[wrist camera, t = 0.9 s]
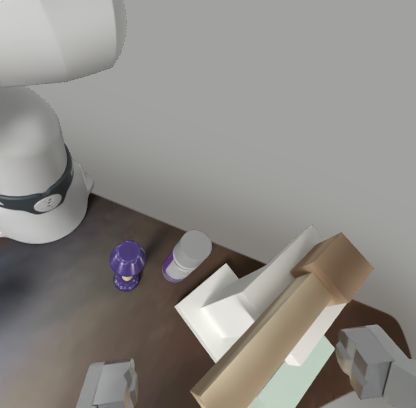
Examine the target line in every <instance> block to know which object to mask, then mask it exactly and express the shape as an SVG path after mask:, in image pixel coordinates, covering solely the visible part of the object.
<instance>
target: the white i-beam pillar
mask: <svg viewBox="0 0 416 408" xmlns="http://www.w3.org/2000/svg"><path fill="white" fill-rule="evenodd" d="M323 241H325V239H324V238H323V237H322V236H321V235H320V233H319V232H318V231H317V230H316V229H315V228H314V227H313V225H311V226H310V227H308V228H306V229H305V230H303V231H301V232H300V233H299V234H298V235H297V236H296V237H295V238H294V239H293V240H292V241H291V242H290V243H289V244H288V245H287V246H286V247H284V248H283V249H282V250H281V251H280V252H279V253H278V254H277V255H276V256H275V257H274V258H273V259H272V260H271V261H270V262H269V263H268V264H266V265H265V266H264V267H262V268H260V269H258V270H256V271H254V272H252V273H250V274H248V275H246V276H244V277H242V278H240V279H238V277H237V276H236V275H235V274H234V272H233V271H232V270H231V269H230V267H229V266H228V265H227V264H224V265H223V266H222V267H221V268H219V269H218V270H217V271H216V272H215V273H213V274H212V275H211V276H210V277H209V278H208V279H206V280H205V281H204V282H203V283H202V284H200V285H199V286H198V287H197V288H196V289H194V290H193V291H192V292H191V293H190V294H189V295H187V296H186V297H185V298H184V299H183V300H181V301H180V302H179V303H178V304H177V305H176V306H174V307H175V308H176V310H177V311H178V312H179V314H180V315H181V316H182V318H183V319H184V321H185V322H186V323H187V325H188V326H189V327H190V329H191V330H192V332H193V333H194V334H195V336H196V337H197V338H198V340H199V341H200V343H201V344H202V345H203V347H204V348H205V349H206V351H207V352H208V354H209V355H210V356H211V358H212V359H213V360H214V362H215V363H217V362H218V360H219V359H220V358H221V357H222V356H223V355H224V354H225V353H226V352H227V351H228V350H229V349H230V348H231V347H232V345H233V344H234V343H235V342H236V341H237V340H238V339H239V338H240V337H241V336H242V335H243V334H244V333H245V331H246V330H247V329H248V328H249V327H250V326H251V325H252V324H253V323H254V322H255V321H256V320H257V319H258V318H259V316H260V315H261V314H262V313H263V312H264V311H265V310H266V309H267V308H268V307H269V306H270V305H271V304H272V302H273V301H274V300H275V299H276V298H277V297H278V296H279V295H280V294H281V293H282V292H283V291H284V290H285V289H286V287H287V286H288V285H289V284H290V283H291V282H292V281H293V280H294V279H295V278H294V277H293V275H292V274H291V273H290V271H291V270H292V269H293V268H294V267H295V266H296V265H297V264H298V263H299V262H300V261H301V260H302V259H303V258H304V257H305V256H306V254H307V253H308V252H309V251H310V250H311V249H312V248H313V247H314V246H315V245H316V244H318V243H320V242H323ZM346 304H347V303H344V304H339V305H333V306H327V307H325V308H324V310H323V311H322V312H321V314H320V315H319V316H318V317H317V319H316V320H315V321H314V323H313V324H312V325H311V326H310V328H309V329H308V330H307V332H306V333H305V334H304V335H303V337H302V338H301V339H300V341H299V342H298V343H297V344H296V346H295V347H294V348H293V350H292V351H291V352H290V353H289V355H288V356H287V357H286V359H285V361H286V363H287V364H288V365H293V366H301V365H302V364H303V363H304V361H305V360H306V358H307V357H308V356H309V354H310V353H311V352H312V350H313V349H314V348H315V346H316V345H317V343H318V342H319V341H320V339H321V338H322V337H323V335H324V334H325V332H326V331H327V330H328V328H329V327H330V326H331V324H332V323H333V321H334V320H335V319H336V317H337V316H338V315H339V313H340V312H341V310H342V309H343V308H344V306H345V305H346Z"/></svg>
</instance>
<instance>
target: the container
mask: <svg viewBox="0 0 416 408" xmlns="http://www.w3.org/2000/svg"><path fill="white" fill-rule="evenodd" d="M211 249H212V244H211V240H210V238H209V237H208V236H207V235H206V234H205V233H204V232H202V231H200V230H191V231H188V232H186V233H185V234H184V235H183V237H182V238H181V239H180V241H179V242H178V243H177V244H176V246H175V247H174V249H173V250H172V252H171V253H170V255H169V256H168V258H167V259H166V261H165V263H164V264H163V268H162V271H163V275H164V277H165V278H166V279H167V280H168V281H170V282H180V281H182V280H183V279H184V278H185V277H187V276H188V275H189V274H190V273H191V272H192V271H193V270H194V269H196V268H197V267H198V266H199V265H200V264H201V263H202V262H203V261H204V260H205V259H206V258H207V257H208V256H209V254H210V252H211Z"/></svg>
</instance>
